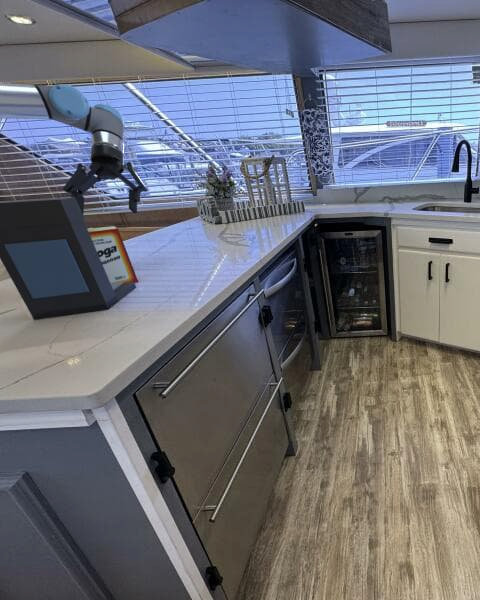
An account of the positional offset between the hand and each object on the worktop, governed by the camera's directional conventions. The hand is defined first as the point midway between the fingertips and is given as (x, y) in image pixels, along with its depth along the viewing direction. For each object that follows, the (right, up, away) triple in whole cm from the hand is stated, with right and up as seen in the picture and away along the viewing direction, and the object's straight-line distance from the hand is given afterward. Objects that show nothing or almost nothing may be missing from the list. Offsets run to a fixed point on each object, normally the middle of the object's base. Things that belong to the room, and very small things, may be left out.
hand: (106, 212), depth 94 cm
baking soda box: (+4, -21, -1) cm, 22 cm away
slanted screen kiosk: (+9, -26, -13) cm, 31 cm away
